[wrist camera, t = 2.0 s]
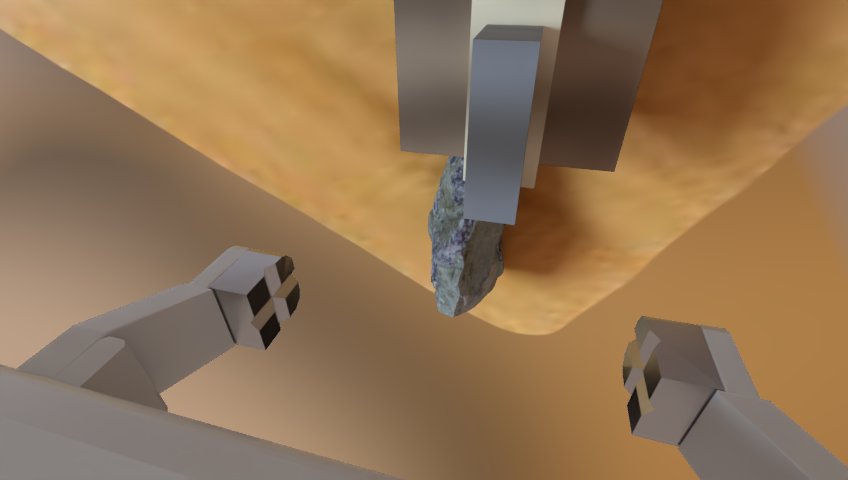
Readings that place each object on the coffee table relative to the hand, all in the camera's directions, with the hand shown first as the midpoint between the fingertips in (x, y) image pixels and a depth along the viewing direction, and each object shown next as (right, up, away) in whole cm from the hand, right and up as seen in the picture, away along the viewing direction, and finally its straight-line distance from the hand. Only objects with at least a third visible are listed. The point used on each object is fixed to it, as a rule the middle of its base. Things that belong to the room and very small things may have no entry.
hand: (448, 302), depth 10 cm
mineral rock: (+5, +5, +27) cm, 28 cm away
